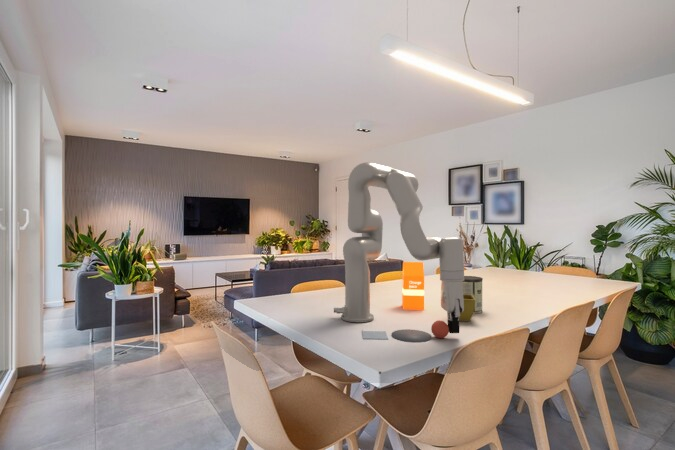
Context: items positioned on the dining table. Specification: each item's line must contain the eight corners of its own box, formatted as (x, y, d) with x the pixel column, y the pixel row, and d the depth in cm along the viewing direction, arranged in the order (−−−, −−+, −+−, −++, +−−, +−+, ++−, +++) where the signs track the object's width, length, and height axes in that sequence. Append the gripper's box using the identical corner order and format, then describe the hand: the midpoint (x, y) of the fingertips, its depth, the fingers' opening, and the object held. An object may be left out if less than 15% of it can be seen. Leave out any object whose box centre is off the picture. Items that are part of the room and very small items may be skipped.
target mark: (394, 341, 114) (394, 341, 114) (389, 329, 127) (389, 329, 127) (436, 342, 114) (436, 341, 114) (426, 330, 127) (426, 329, 127)
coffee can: (460, 306, 163) (460, 275, 163) (484, 309, 158) (484, 277, 158) (453, 311, 154) (454, 278, 154) (479, 314, 149) (479, 280, 149)
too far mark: (363, 339, 117) (363, 338, 117) (362, 331, 125) (362, 331, 125) (388, 339, 117) (388, 338, 117) (385, 331, 125) (385, 331, 125)
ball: (447, 343, 117) (431, 337, 116) (442, 335, 122) (427, 330, 122) (453, 327, 116) (437, 322, 116) (448, 320, 121) (433, 315, 121)
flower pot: (475, 323, 136) (475, 299, 136) (450, 322, 138) (451, 298, 138) (471, 317, 145) (471, 294, 145) (448, 316, 146) (448, 293, 146)
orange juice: (402, 305, 166) (402, 260, 166) (421, 305, 165) (422, 261, 165) (403, 309, 158) (403, 262, 158) (424, 309, 157) (424, 263, 157)
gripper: (434, 273, 126) (436, 326, 126) (446, 278, 111) (448, 339, 111) (456, 272, 126) (458, 326, 126) (471, 278, 111) (473, 339, 111)
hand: (453, 332), depth 119 cm, fingers closed
